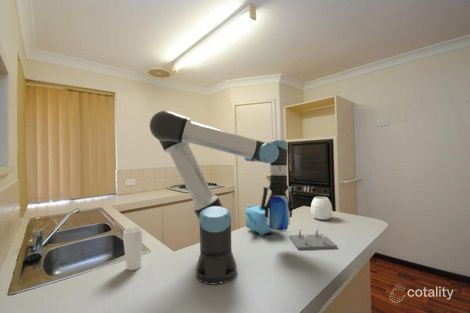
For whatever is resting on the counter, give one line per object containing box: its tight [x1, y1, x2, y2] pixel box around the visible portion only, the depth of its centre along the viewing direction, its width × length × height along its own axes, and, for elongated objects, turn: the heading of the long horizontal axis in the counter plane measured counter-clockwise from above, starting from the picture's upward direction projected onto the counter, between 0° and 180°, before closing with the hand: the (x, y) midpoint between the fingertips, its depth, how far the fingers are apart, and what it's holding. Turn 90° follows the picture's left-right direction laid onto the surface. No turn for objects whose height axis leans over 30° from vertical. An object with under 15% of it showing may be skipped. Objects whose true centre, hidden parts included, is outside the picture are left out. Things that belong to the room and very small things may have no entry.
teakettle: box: [243, 203, 275, 237], centre depth 122 cm, size 19×19×15 cm
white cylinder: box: [122, 226, 143, 271], centre depth 86 cm, size 7×7×15 cm
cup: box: [310, 196, 333, 221], centre depth 143 cm, size 13×13×14 cm
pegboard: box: [288, 228, 338, 251], centre depth 106 cm, size 18×14×5 cm
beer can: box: [269, 195, 289, 233], centre depth 99 cm, size 8×8×16 cm
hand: (278, 224), depth 99 cm, fingers closed on beer can, 8 cm apart
